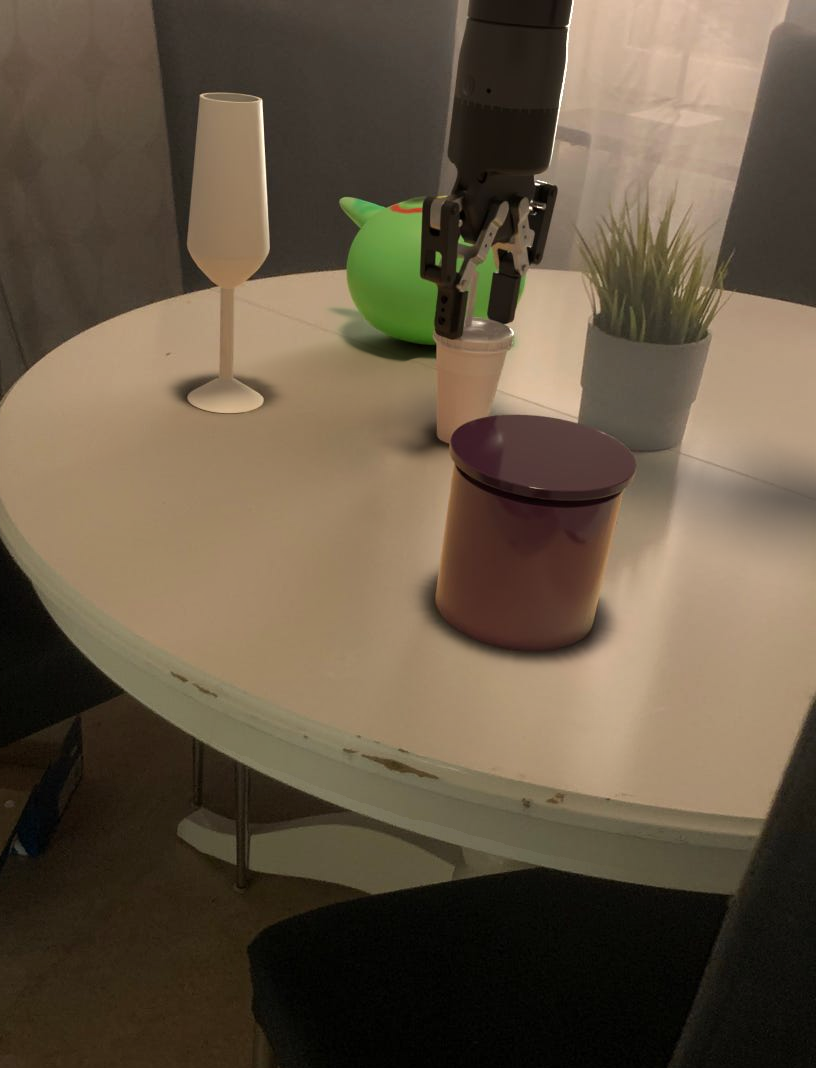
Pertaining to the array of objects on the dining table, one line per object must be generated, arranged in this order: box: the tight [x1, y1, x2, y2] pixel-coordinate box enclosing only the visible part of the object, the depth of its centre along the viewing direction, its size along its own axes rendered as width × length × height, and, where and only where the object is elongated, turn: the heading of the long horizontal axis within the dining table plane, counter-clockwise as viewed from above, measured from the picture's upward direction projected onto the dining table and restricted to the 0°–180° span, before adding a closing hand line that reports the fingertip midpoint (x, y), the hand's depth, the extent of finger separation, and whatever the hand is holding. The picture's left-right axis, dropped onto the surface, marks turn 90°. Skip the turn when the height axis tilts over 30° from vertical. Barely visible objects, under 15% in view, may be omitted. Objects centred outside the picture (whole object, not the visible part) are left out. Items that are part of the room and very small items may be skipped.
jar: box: [434, 414, 638, 651], centre depth 68 cm, size 11×11×11 cm
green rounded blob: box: [338, 195, 528, 346], centre depth 112 cm, size 18×17×15 cm
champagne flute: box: [186, 92, 271, 414], centre depth 91 cm, size 7×7×24 cm
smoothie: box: [433, 271, 515, 445], centre depth 89 cm, size 6×6×14 cm
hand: (474, 328), depth 88 cm, fingers closed on smoothie, 6 cm apart
